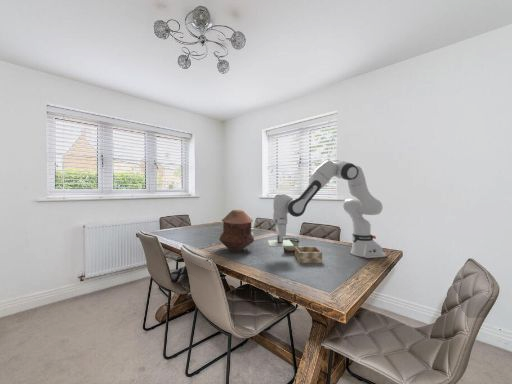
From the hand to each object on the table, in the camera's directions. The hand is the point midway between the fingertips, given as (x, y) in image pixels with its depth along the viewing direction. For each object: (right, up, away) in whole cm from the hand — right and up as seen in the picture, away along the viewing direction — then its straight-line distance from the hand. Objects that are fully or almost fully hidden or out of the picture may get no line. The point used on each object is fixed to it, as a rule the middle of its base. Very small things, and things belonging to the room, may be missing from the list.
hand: (280, 240), depth 149 cm
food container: (+9, -13, +19) cm, 25 cm away
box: (+18, -13, +1) cm, 22 cm away
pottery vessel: (-30, -13, +25) cm, 41 cm away
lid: (0, -2, 0) cm, 2 cm away
